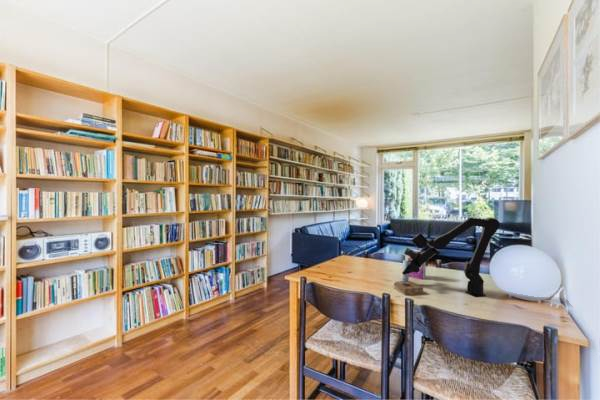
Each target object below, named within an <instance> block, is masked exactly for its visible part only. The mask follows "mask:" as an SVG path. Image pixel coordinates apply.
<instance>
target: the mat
mask: <svg viewBox="0 0 600 400" xmlns="http://www.w3.org/2000/svg"><path fill="white" fill-rule="evenodd" d="M398 282H403V280H398V281H395V283H398ZM409 282H413V283H415V284H417V285H419V286H421V287H422V285H420V284H418V283H416V282H415V281H412V280H409Z"/></svg>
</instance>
